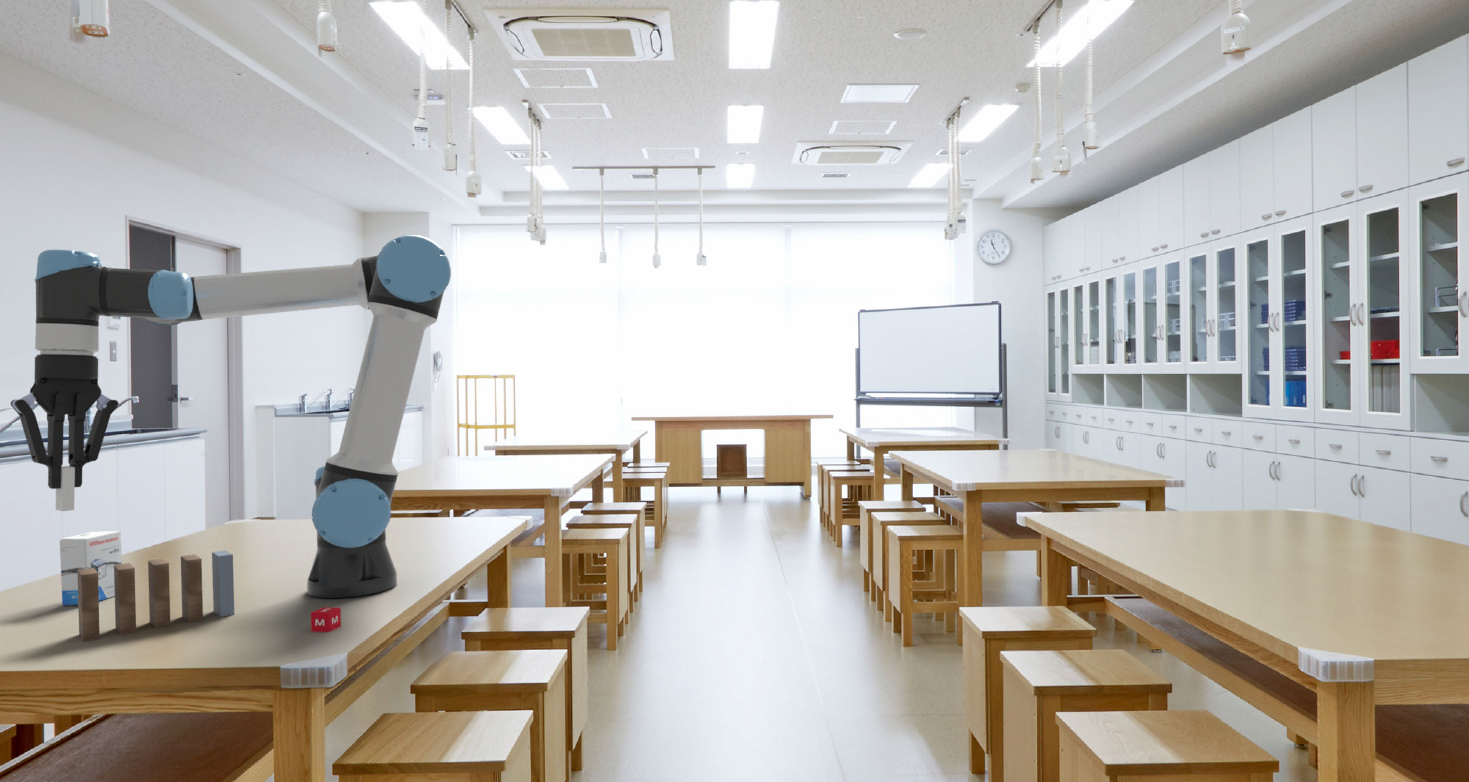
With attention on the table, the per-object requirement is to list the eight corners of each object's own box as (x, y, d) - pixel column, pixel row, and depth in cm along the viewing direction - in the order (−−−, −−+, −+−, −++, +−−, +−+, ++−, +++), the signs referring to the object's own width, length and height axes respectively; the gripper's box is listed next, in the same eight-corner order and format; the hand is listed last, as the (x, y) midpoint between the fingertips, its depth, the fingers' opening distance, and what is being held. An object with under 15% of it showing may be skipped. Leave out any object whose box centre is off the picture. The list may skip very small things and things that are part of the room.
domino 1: (131, 625, 133) (129, 563, 133) (136, 631, 130) (134, 567, 130) (115, 628, 132) (113, 565, 132) (120, 634, 128) (118, 569, 128)
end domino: (95, 631, 130) (93, 567, 130) (99, 638, 127) (97, 572, 127) (79, 634, 129) (77, 569, 129) (83, 641, 125) (81, 574, 125)
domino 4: (227, 608, 143) (225, 550, 143) (234, 614, 139) (232, 554, 139) (213, 611, 141) (211, 552, 141) (220, 616, 138) (219, 556, 138)
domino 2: (164, 619, 137) (162, 558, 136) (170, 625, 133) (168, 563, 133) (149, 622, 135) (148, 560, 135) (155, 628, 132) (153, 565, 131)
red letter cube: (329, 632, 128) (328, 612, 128) (311, 631, 128) (310, 612, 128) (341, 626, 131) (340, 607, 131) (323, 626, 131) (322, 607, 131)
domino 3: (196, 613, 140) (194, 554, 140) (203, 619, 136) (201, 558, 136) (182, 616, 138) (180, 556, 138) (188, 622, 135) (187, 560, 135)
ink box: (87, 605, 146) (85, 538, 146) (59, 606, 146) (57, 539, 146) (124, 593, 155) (123, 530, 155) (98, 593, 155) (96, 530, 155)
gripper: (108, 356, 134) (106, 503, 134) (3, 352, 123) (1, 512, 123) (127, 355, 130) (125, 507, 130) (20, 351, 119) (18, 517, 119)
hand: (64, 509), depth 126 cm, fingers closed
